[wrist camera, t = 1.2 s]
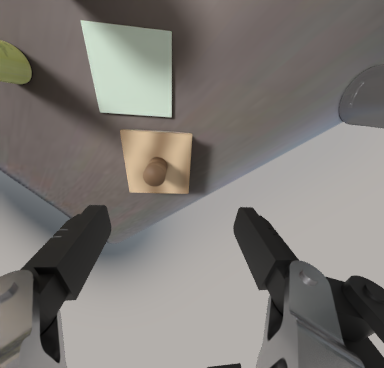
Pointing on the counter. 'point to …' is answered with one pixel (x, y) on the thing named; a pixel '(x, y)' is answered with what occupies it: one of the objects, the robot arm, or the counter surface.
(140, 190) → the lid
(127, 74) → the mat
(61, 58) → the counter surface
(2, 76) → the tube
